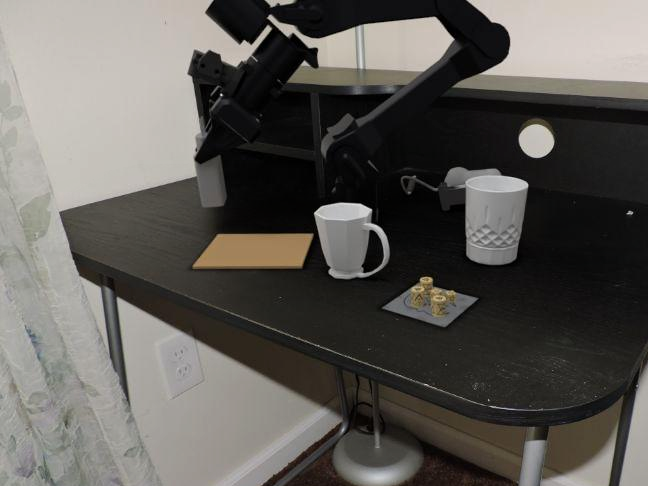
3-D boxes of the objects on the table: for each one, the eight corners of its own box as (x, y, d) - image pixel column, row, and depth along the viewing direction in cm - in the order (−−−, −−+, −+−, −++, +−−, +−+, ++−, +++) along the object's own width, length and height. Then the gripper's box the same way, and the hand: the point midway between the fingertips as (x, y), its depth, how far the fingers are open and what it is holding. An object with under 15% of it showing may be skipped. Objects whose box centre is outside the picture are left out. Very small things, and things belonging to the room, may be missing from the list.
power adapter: (201, 207, 81) (185, 120, 76) (206, 196, 86) (192, 114, 81) (223, 206, 82) (210, 119, 76) (227, 195, 87) (214, 113, 81)
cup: (341, 257, 76) (339, 199, 73) (404, 274, 72) (404, 212, 68) (306, 275, 71) (301, 213, 68) (371, 294, 66) (369, 229, 63)
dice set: (441, 318, 61) (442, 302, 60) (401, 306, 64) (401, 291, 63) (463, 300, 65) (463, 285, 64) (424, 290, 67) (424, 275, 66)
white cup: (484, 271, 72) (489, 194, 68) (450, 251, 78) (454, 179, 74) (533, 260, 75) (541, 186, 71) (497, 242, 82) (503, 172, 77)
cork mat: (313, 236, 84) (313, 233, 84) (301, 268, 73) (301, 265, 73) (218, 236, 84) (218, 234, 84) (192, 269, 73) (192, 266, 73)
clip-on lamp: (390, 216, 101) (482, 211, 91) (381, 182, 99) (474, 172, 88) (423, 194, 110) (510, 187, 99) (415, 162, 107) (504, 151, 97)
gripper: (217, 24, 82) (151, 108, 85) (219, 27, 66) (138, 130, 69) (277, 80, 88) (215, 157, 90) (293, 94, 72) (216, 188, 74)
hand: (197, 157), depth 81 cm, fingers closed on power adapter, 5 cm apart
